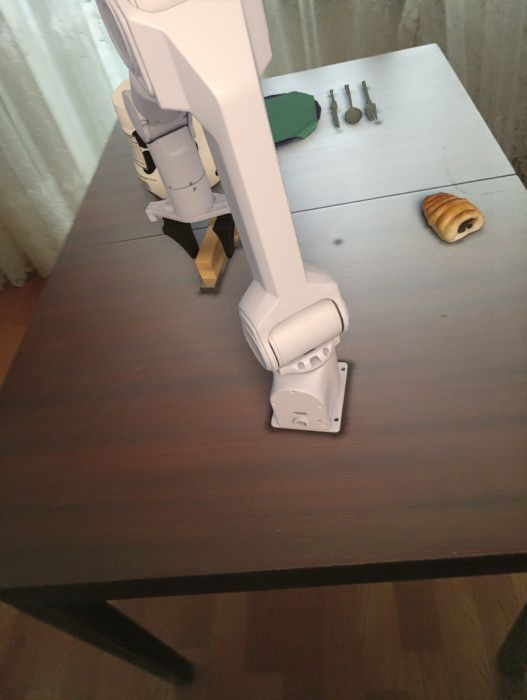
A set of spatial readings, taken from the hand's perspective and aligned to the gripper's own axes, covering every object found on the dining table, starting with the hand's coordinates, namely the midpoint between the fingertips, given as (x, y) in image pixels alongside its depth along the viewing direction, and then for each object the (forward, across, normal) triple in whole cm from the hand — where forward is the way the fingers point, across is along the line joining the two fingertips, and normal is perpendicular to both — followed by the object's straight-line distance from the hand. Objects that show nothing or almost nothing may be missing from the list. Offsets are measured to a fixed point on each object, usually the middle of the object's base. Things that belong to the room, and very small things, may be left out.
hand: (213, 254), depth 76 cm
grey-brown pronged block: (+3, 0, -2) cm, 4 cm away
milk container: (+3, +12, -24) cm, 27 cm away
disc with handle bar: (+2, 0, -3) cm, 3 cm away
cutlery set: (+3, -6, -40) cm, 41 cm away
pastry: (+3, -34, -8) cm, 35 cm away
